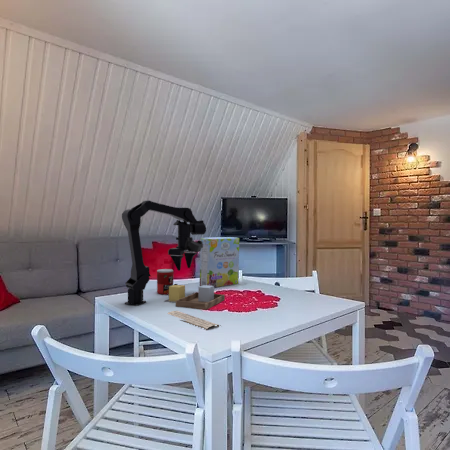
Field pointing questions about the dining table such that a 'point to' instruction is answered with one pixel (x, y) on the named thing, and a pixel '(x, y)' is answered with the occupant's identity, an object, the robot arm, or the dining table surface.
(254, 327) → the dining table surface
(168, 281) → the canned food
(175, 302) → the slate pad
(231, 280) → the snack box
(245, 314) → the dining table surface
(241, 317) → the dining table surface
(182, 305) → the walnut tray
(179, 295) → the mustard block
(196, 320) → the tan flat ridged strip
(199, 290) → the grey-blue block
